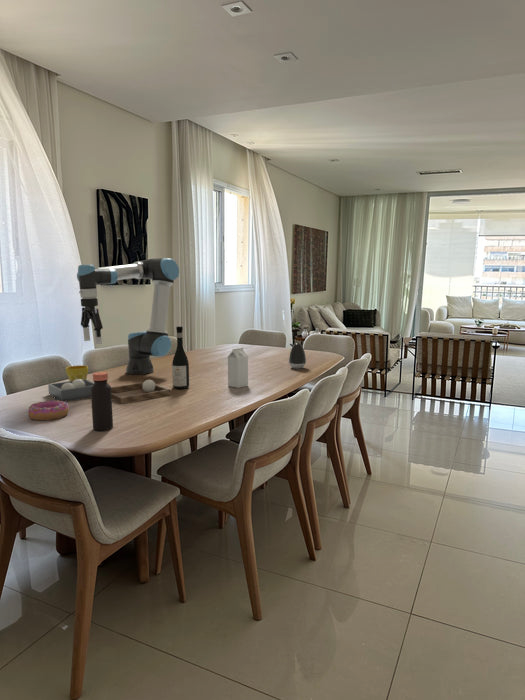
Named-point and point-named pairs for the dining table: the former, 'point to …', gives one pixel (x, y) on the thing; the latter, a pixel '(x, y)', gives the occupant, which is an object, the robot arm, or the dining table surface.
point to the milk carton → (238, 368)
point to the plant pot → (77, 372)
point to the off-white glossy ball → (78, 383)
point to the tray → (158, 393)
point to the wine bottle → (180, 364)
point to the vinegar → (101, 402)
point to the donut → (48, 410)
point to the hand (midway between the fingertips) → (92, 342)
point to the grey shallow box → (70, 391)
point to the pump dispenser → (297, 356)
